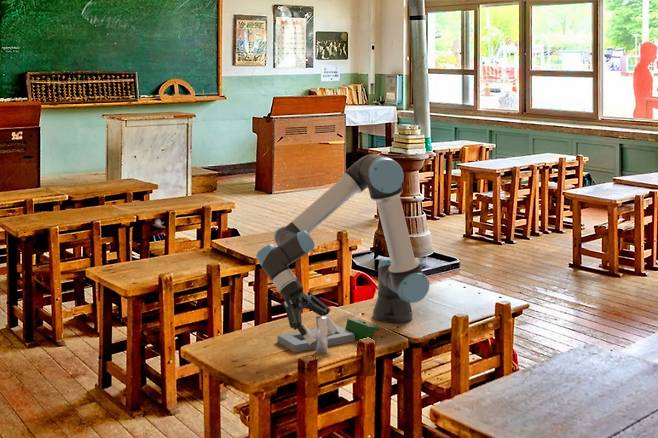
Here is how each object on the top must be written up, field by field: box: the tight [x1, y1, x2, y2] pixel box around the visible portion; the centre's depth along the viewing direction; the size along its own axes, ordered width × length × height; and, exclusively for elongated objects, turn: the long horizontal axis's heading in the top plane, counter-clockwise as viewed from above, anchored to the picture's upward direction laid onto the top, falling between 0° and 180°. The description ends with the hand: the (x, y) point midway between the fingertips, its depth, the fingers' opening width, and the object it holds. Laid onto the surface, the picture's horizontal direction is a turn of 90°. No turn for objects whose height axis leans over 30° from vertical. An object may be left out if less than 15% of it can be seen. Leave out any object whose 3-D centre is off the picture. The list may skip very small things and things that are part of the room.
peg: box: [315, 315, 329, 355], centre depth 272 cm, size 4×4×12 cm
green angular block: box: [344, 318, 380, 340], centre depth 289 cm, size 12×6×9 cm
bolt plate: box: [277, 324, 356, 353], centre depth 284 cm, size 24×12×4 cm, turn 122°
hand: (324, 337), depth 272 cm, fingers open, 13 cm apart
